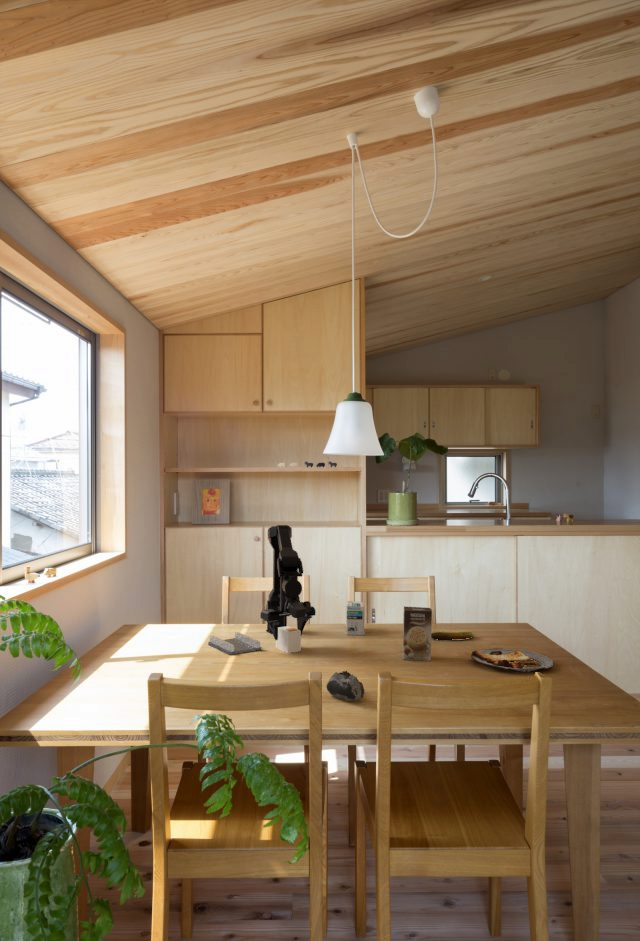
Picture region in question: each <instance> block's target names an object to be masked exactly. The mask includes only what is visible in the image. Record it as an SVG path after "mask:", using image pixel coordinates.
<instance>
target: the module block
mask: <svg viewBox="0 0 640 941" xmlns="http://www.w3.org/2000/svg"><path fill="white" fill-rule="evenodd" d="M301 642H302V635H301V631H300V630H298V629H297V627H292V626H289V625H287V626H285V627H278V640H275V649H276V648H278V649H277V650H279V649H280V650H279V651H281V650H282V652H284V651H285V652H284V653H286V652H287V653H286V654H292V653H291V652H293V653H298V651H300V652H301V651H302V650H301V649H302V647H301V646H302V643H301Z"/></svg>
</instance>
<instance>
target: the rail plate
mask: <svg viewBox="0 0 640 941" xmlns="http://www.w3.org/2000/svg"><path fill="white" fill-rule="evenodd" d="M207 643H208V646H210V647H212V648H214V649H216V650H218V651H220V652H223V653H224V654H226V655H228V656H233V655H238V654H237V653H240V654H244V653H243V652H246V653H251V652H250V651H253V652H257V651H256V650H259V651H262V646H261V641H260V640H257V639H255V638H252V637H250V636H248V635H246V634H243V633H241V632H239V631H236V632H234V638H226V639H221V638H220V637H218V636H215V635H210V636H209V641H208V642H207ZM232 654H233V655H232Z"/></svg>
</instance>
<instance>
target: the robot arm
mask: <svg viewBox="0 0 640 941" xmlns="http://www.w3.org/2000/svg"><path fill="white" fill-rule="evenodd" d="M292 529H293V528H292V527H291V526H290V525H288V524H277V525H273V526H272V525H271V526H270V527H269V528H268V529H267V539H268V540H269V541H268V542H269V544H270V546H271V548H272V553H273V554H272V562H273V563H272V567H273V569H272V589H271V591H270V593H269V594H268V600H266V606H265V609H262V610H261V612H260V619H262V620H264V622H266V623H267V624H266V625H267V626H266V630H265V632H267V633H270V634H272V636H273V637H274V640H275V641H276V640H278V627H285V626H288V625H287V624H288V622H287V621H288V617H290V616H291V617H292V618H294V619H296V624H297V625H296V626H297V627H296V629H298V630H300V631H301V636H302V635H303V632H304V629H305V626H306V624H307V622H308V621H309V620H310V619H312V618H313V616H314V617H315V616H316V612H317V611H316V608H315V607H314V606H312V605H311V604H312V603H311V601H309V600H307V601H306V600H305V601H301V600H300V595H301V593H302V591H303V586H302V583H301V582H300V581H299V577H303V574H304V567H303V561H302V560H301V558H300V557H299V554H298V551H296V550H294V548H293V544H292V537H293V535H292V534H293V530H292Z"/></svg>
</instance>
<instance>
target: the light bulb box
mask: <svg viewBox="0 0 640 941" xmlns="http://www.w3.org/2000/svg"><path fill="white" fill-rule="evenodd" d="M345 607H346V608H345V612H346V614H345V618H346V619H345V620H346V622H345V623H346V625H345V627H346V628H345V629H346V636H365V605H364V601H350V600H349V601H348V600H346V605H345Z"/></svg>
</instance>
